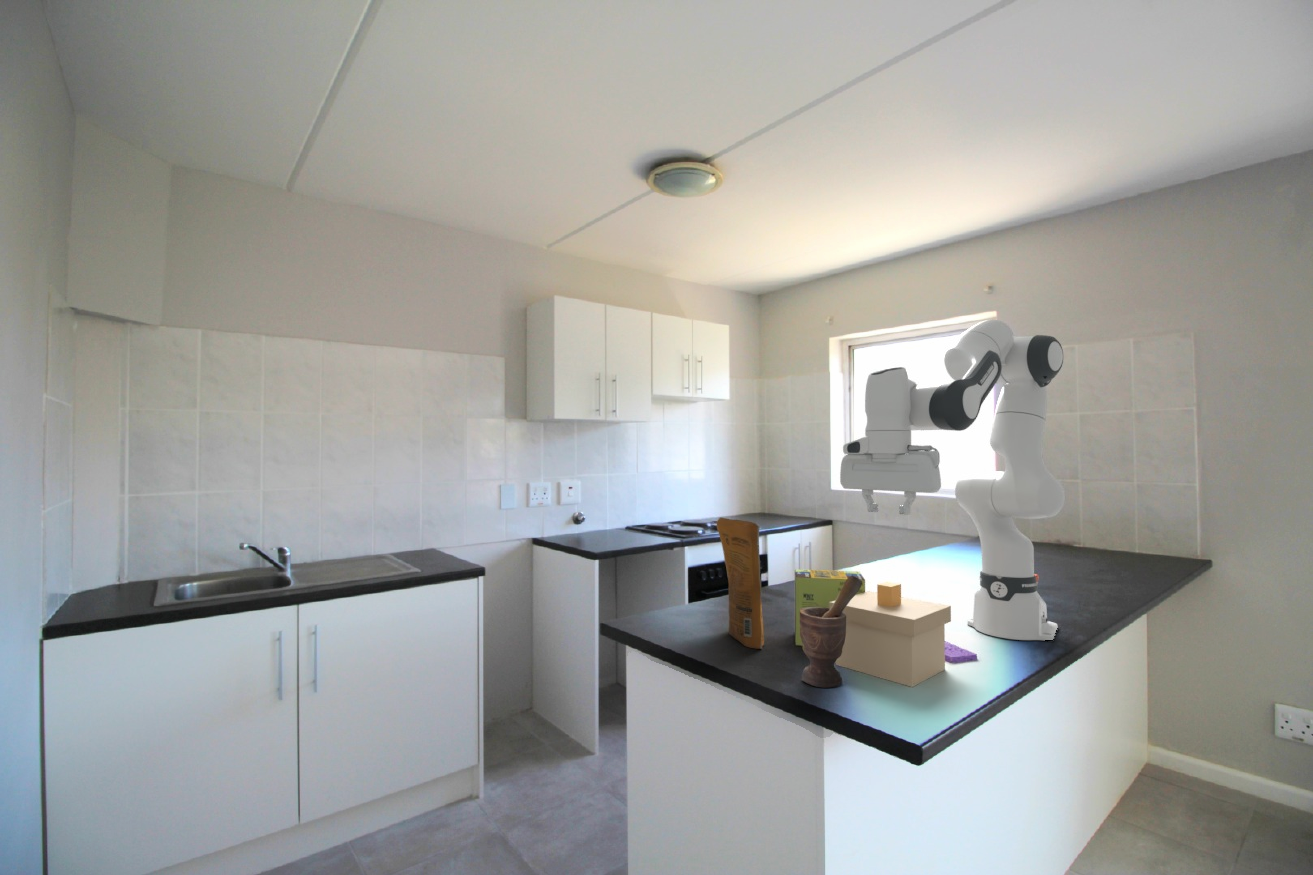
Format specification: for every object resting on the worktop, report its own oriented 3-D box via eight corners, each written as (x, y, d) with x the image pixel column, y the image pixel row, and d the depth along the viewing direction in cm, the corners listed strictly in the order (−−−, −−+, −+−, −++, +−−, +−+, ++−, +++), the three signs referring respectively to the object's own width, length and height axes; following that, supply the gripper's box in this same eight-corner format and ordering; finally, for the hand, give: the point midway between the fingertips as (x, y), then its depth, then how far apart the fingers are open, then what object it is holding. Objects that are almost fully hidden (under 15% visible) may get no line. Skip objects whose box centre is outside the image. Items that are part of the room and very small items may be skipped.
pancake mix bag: (745, 653, 132) (745, 523, 133) (714, 629, 151) (714, 515, 152) (774, 650, 134) (773, 522, 135) (739, 627, 153) (739, 514, 153)
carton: (871, 650, 135) (870, 595, 135) (944, 669, 123) (944, 609, 123) (835, 664, 125) (835, 605, 126) (912, 686, 113) (911, 621, 114)
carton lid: (869, 605, 136) (868, 572, 136) (950, 621, 123) (950, 585, 123) (829, 617, 126) (829, 582, 126) (914, 636, 112) (913, 597, 113)
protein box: (866, 650, 135) (866, 579, 135) (795, 645, 138) (794, 576, 138) (860, 636, 145) (860, 570, 145) (794, 632, 148) (793, 568, 149)
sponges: (935, 644, 141) (935, 636, 141) (978, 662, 129) (978, 653, 129) (909, 647, 139) (909, 638, 139) (951, 665, 127) (951, 656, 127)
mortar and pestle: (837, 668, 123) (836, 568, 124) (869, 683, 115) (868, 576, 116) (790, 677, 118) (790, 573, 119) (820, 693, 110) (820, 581, 111)
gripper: (946, 445, 120) (947, 516, 119) (851, 446, 135) (852, 508, 134) (931, 444, 115) (932, 518, 115) (836, 445, 131) (836, 510, 130)
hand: (888, 513), depth 125 cm, fingers open, 5 cm apart
